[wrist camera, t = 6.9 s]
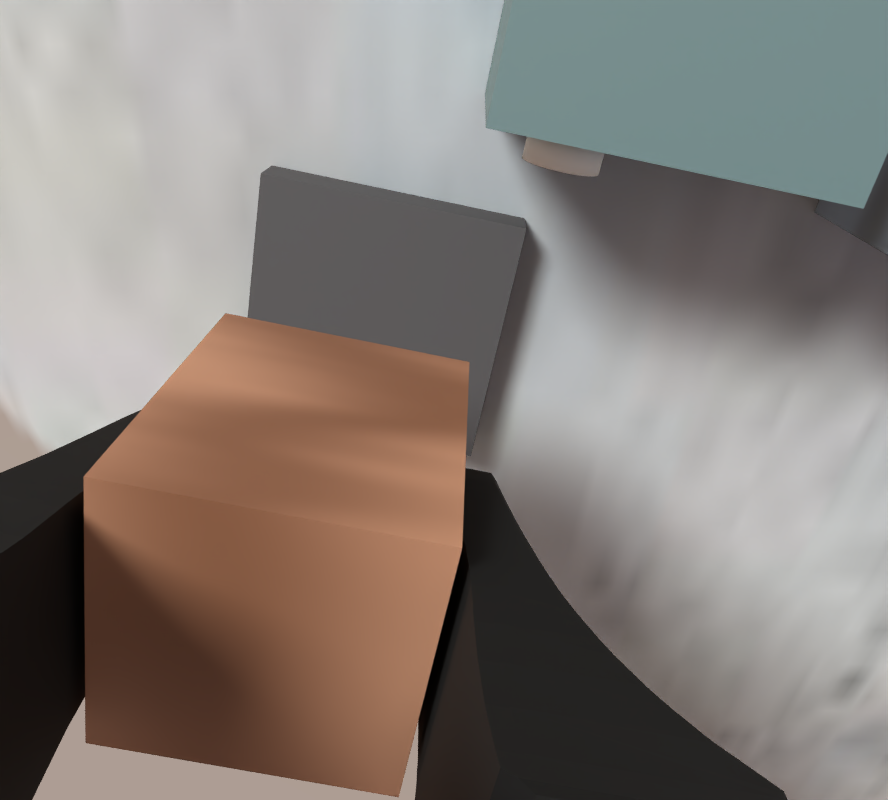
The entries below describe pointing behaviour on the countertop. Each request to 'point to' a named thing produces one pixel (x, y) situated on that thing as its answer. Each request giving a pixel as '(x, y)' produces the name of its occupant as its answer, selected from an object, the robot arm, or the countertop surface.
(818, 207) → the slate block
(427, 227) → the mat
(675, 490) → the countertop surface
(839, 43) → the box
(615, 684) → the robot arm
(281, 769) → the terracotta block
